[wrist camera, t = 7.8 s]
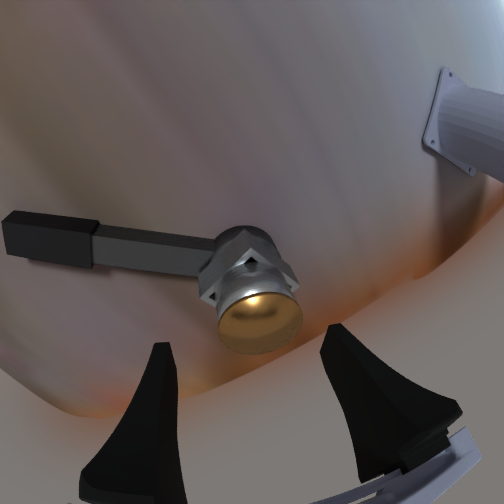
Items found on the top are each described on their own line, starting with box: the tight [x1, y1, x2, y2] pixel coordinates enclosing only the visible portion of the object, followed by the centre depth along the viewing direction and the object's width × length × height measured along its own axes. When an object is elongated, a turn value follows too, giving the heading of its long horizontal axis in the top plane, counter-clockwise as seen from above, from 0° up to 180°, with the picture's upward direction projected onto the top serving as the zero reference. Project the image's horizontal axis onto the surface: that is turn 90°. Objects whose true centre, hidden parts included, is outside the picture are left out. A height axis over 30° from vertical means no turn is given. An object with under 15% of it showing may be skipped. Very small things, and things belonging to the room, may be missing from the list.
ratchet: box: [1, 210, 281, 277], centre depth 17 cm, size 22×5×4 cm, turn 75°
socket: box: [198, 229, 303, 354], centre depth 17 cm, size 5×5×6 cm
